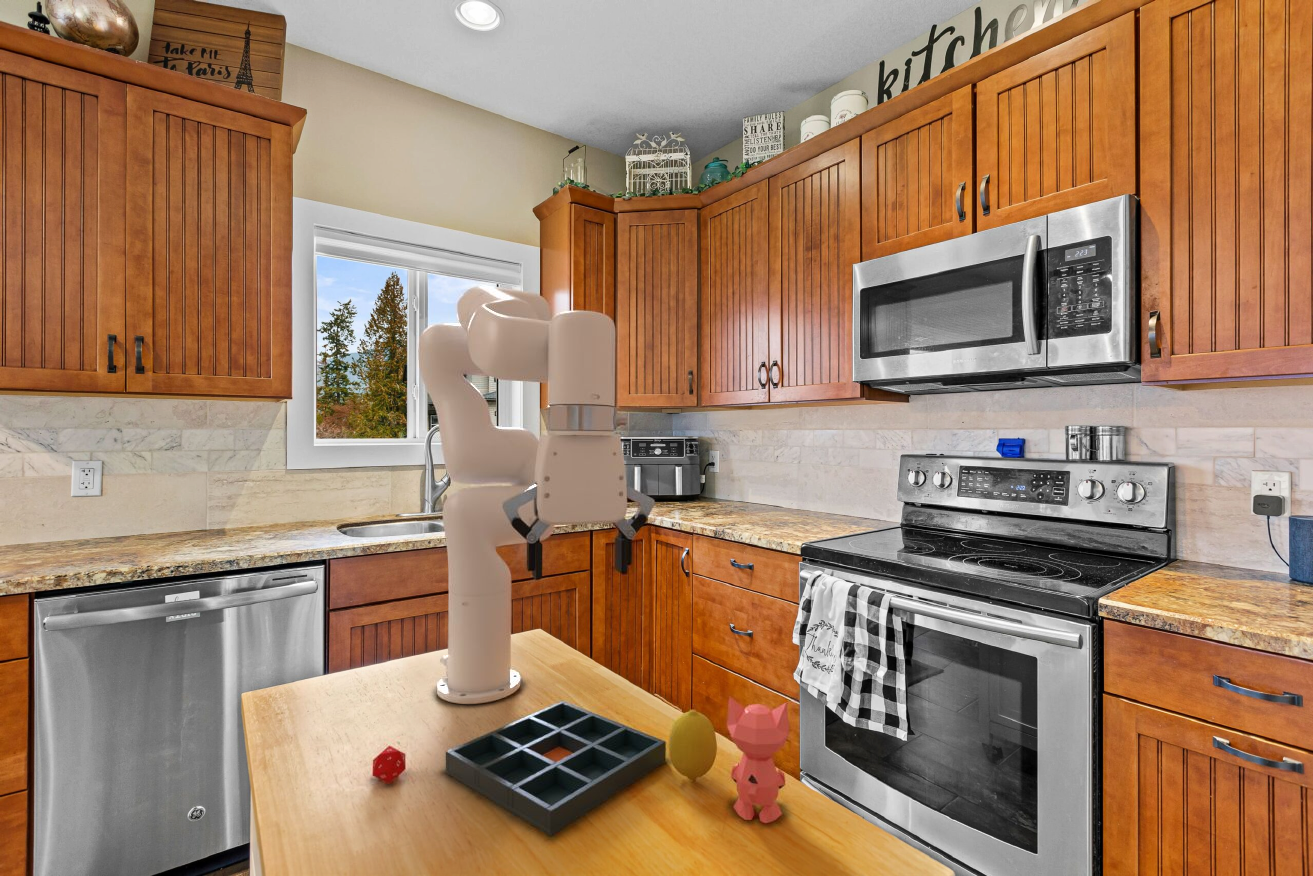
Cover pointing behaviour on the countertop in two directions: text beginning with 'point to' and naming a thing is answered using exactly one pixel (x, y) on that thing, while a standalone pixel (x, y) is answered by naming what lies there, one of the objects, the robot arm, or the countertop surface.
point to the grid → (555, 764)
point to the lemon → (692, 744)
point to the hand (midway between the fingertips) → (579, 574)
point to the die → (389, 764)
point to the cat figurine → (757, 757)
